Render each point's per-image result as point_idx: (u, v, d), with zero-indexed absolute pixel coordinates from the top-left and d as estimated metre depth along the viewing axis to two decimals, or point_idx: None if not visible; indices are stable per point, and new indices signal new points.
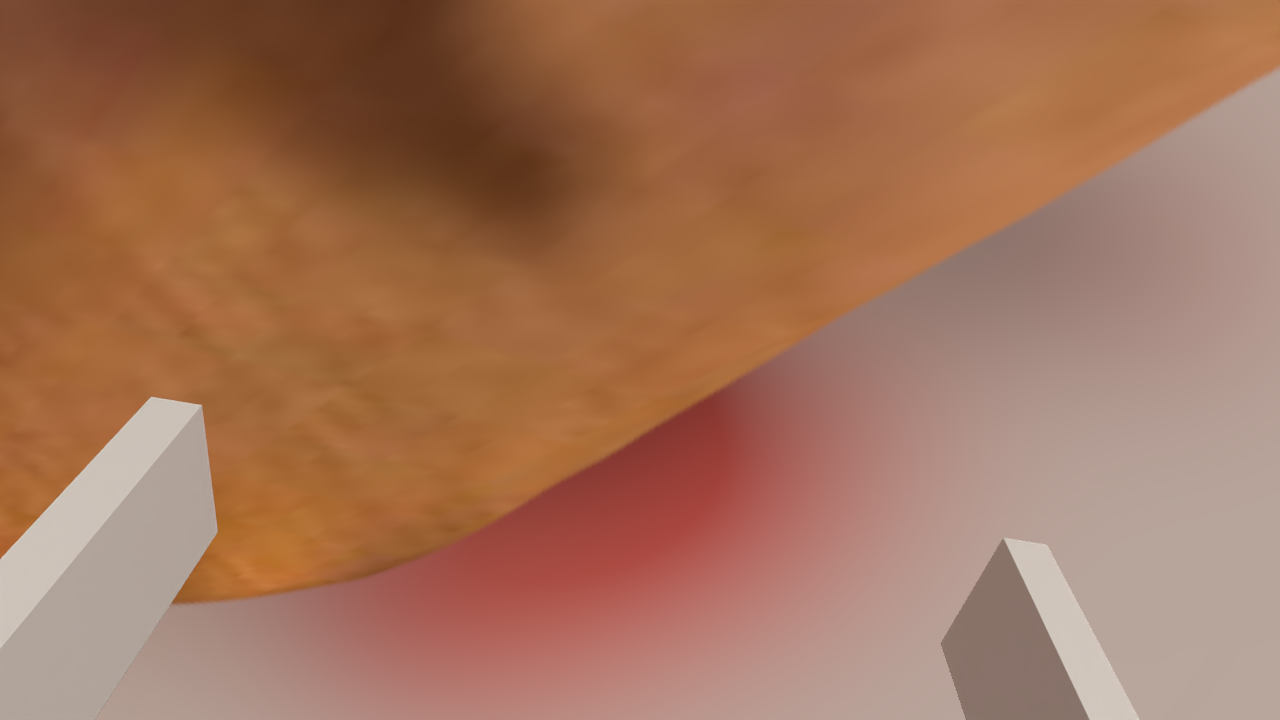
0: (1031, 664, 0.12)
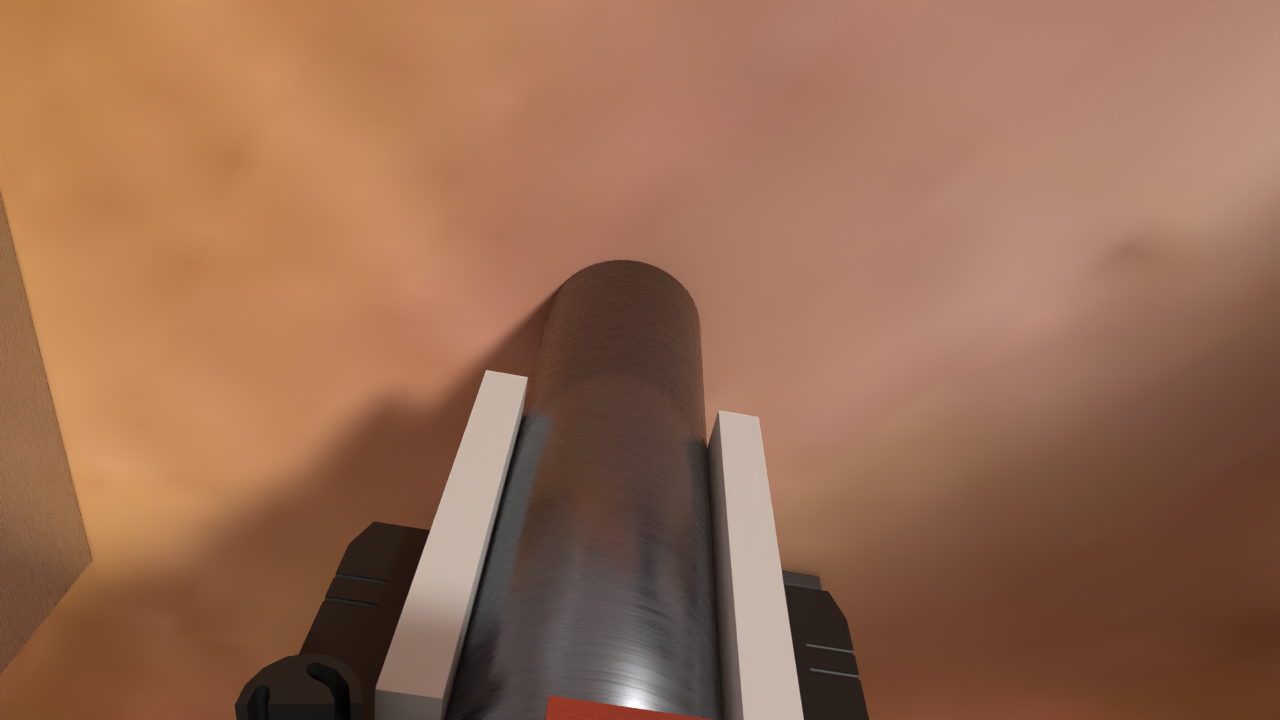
0: (715, 509, 0.14)
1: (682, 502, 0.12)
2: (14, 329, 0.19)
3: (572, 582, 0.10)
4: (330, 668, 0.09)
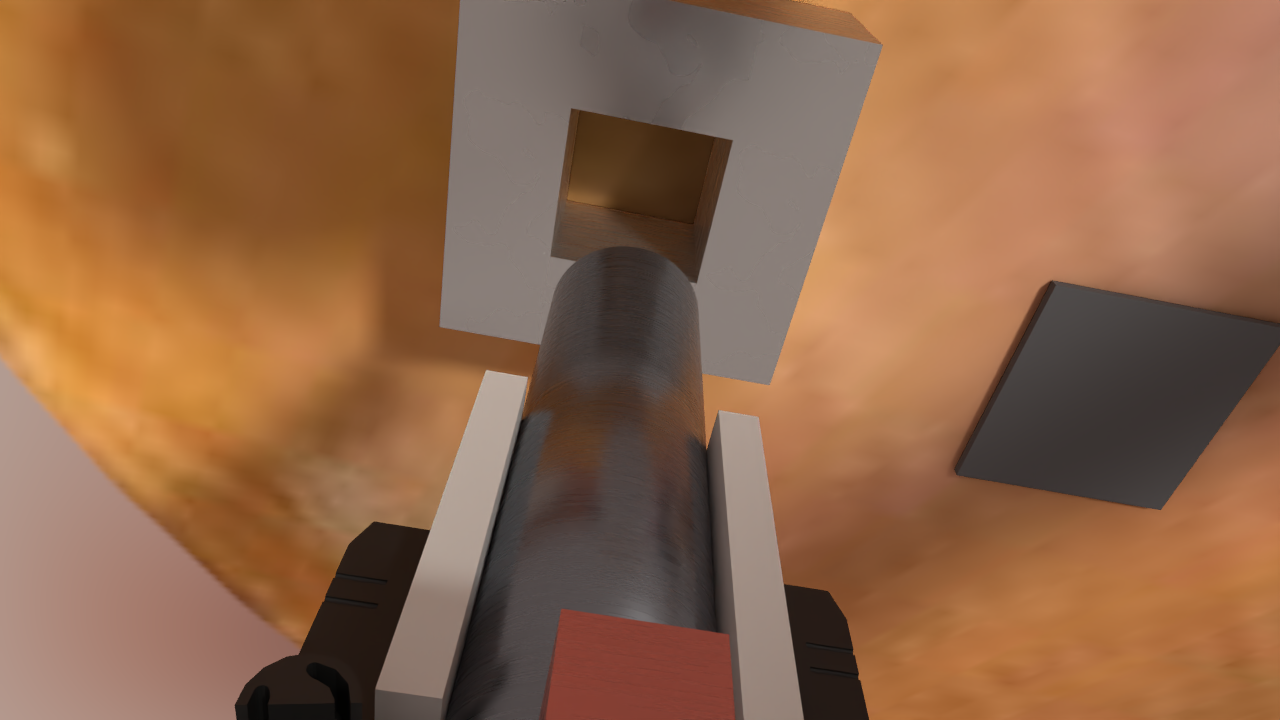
0: (715, 509, 0.14)
1: (681, 469, 0.13)
2: None
3: (578, 537, 0.11)
4: (330, 668, 0.09)
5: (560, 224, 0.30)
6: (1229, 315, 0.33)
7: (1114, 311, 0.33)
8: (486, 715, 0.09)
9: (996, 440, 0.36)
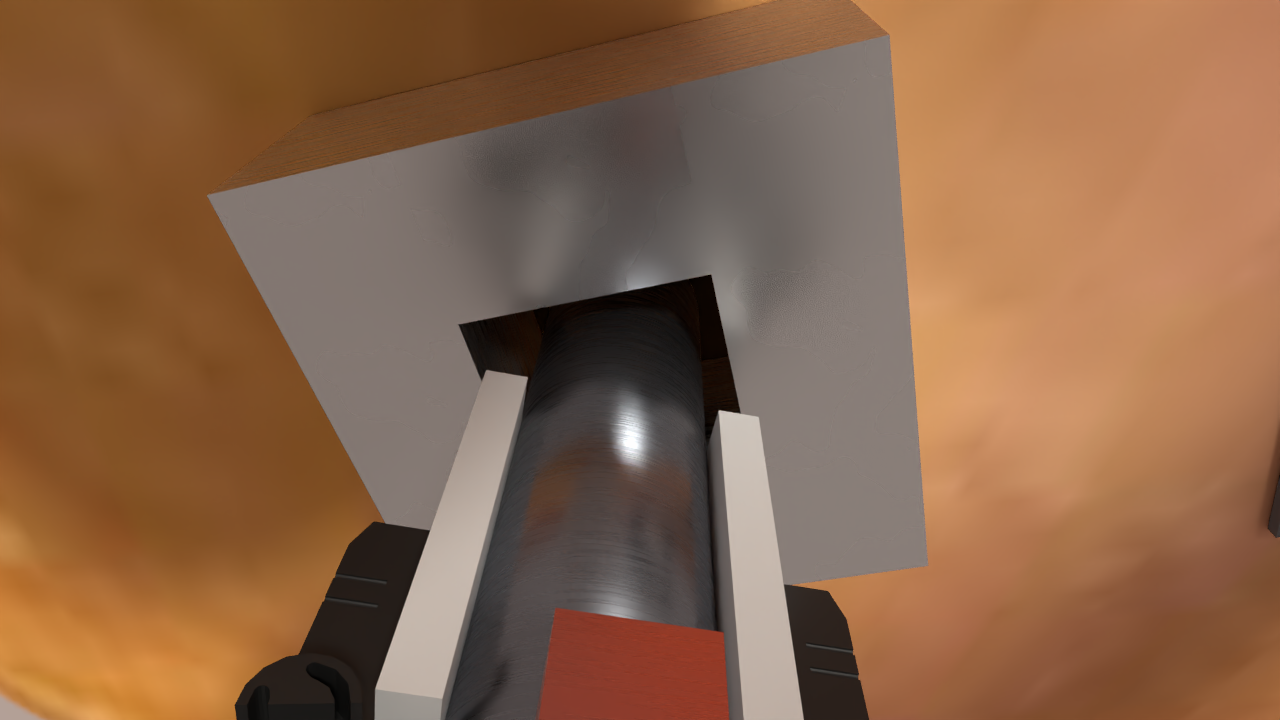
0: (715, 510, 0.14)
1: (680, 468, 0.13)
2: None
3: (576, 537, 0.11)
4: (330, 668, 0.09)
5: None
6: None
7: None
8: (485, 715, 0.09)
9: None
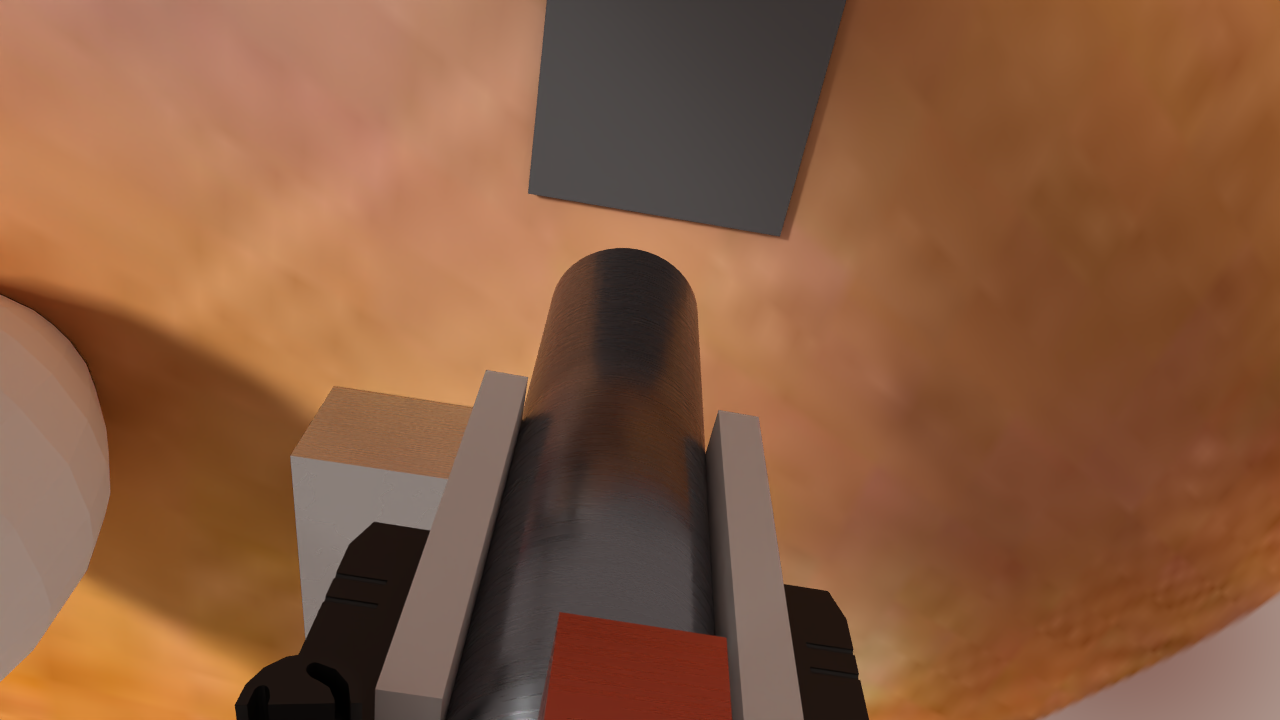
0: (715, 509, 0.14)
1: (679, 471, 0.13)
2: (407, 405, 0.37)
3: (577, 539, 0.11)
4: (330, 668, 0.09)
5: None
6: None
7: (551, 126, 0.30)
8: (485, 717, 0.09)
9: (729, 204, 0.32)
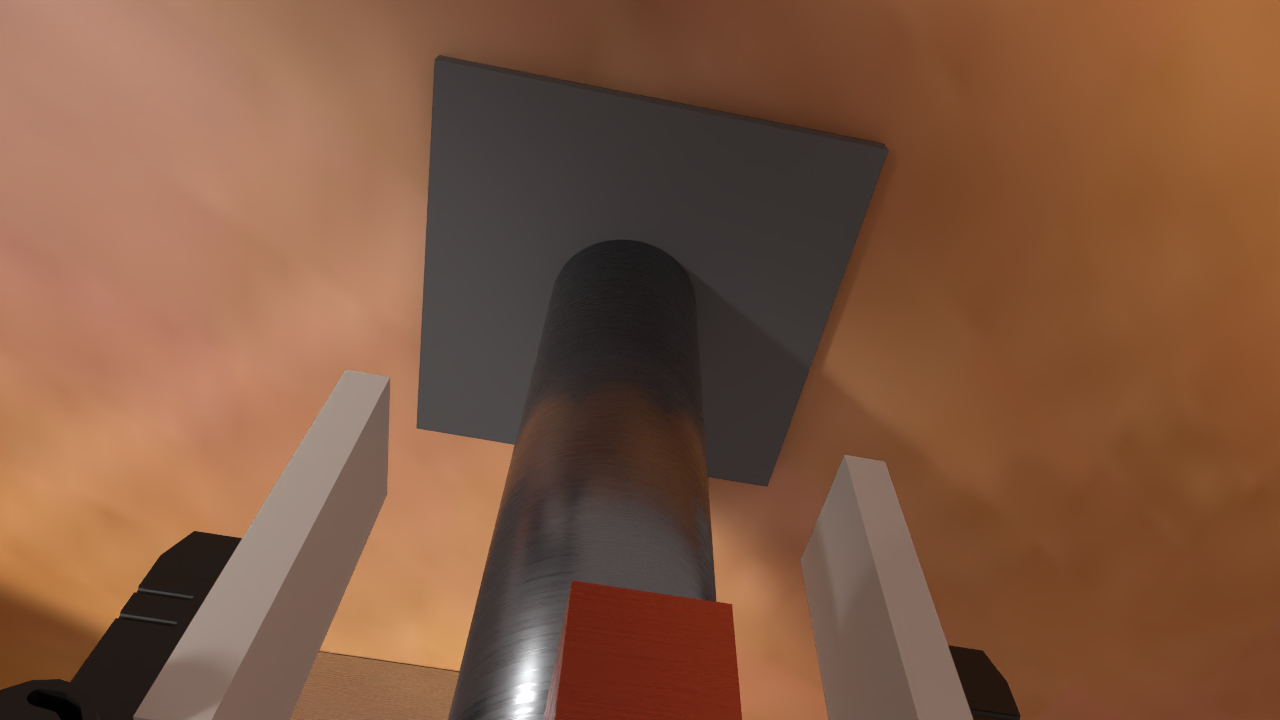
0: (853, 562, 0.13)
1: (681, 455, 0.13)
2: None
3: (582, 521, 0.11)
4: (58, 692, 0.08)
5: None
6: (432, 166, 0.19)
7: (445, 349, 0.21)
8: (495, 691, 0.10)
9: None
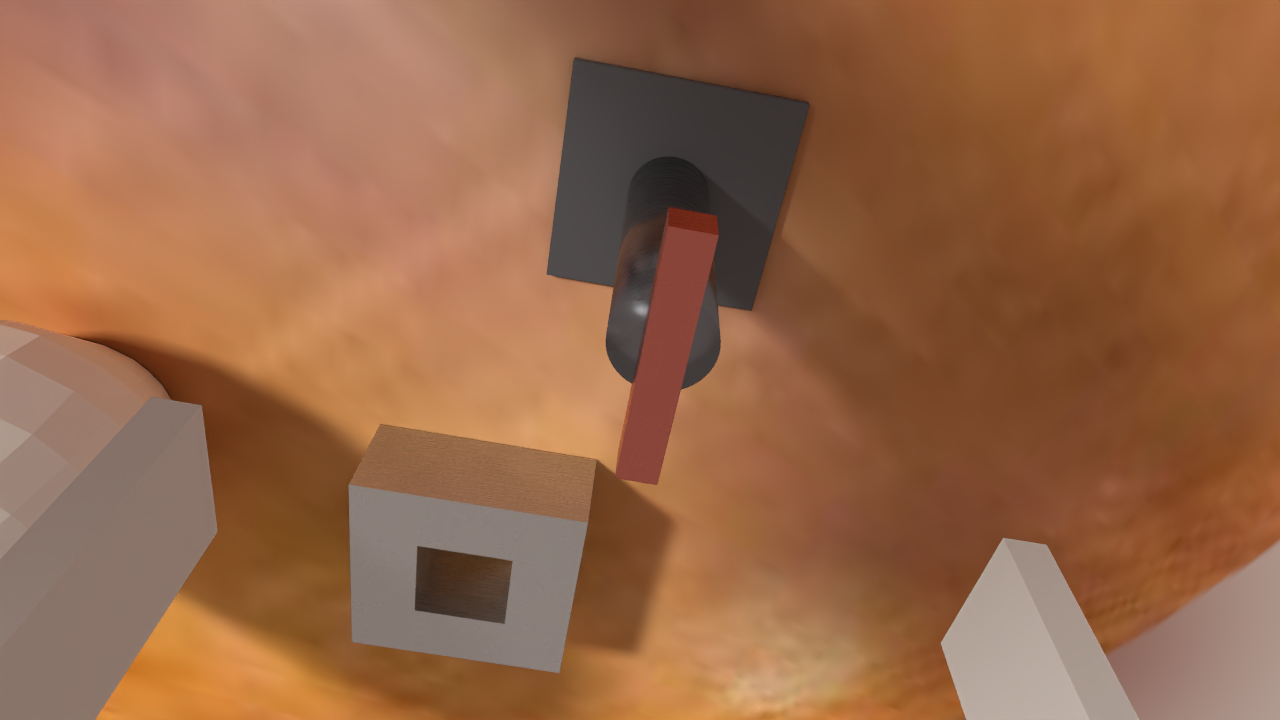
0: (1031, 664, 0.12)
1: None
2: (442, 441, 0.44)
3: (660, 245, 0.28)
4: None
5: None
6: None
7: (567, 223, 0.38)
8: (633, 285, 0.26)
9: None
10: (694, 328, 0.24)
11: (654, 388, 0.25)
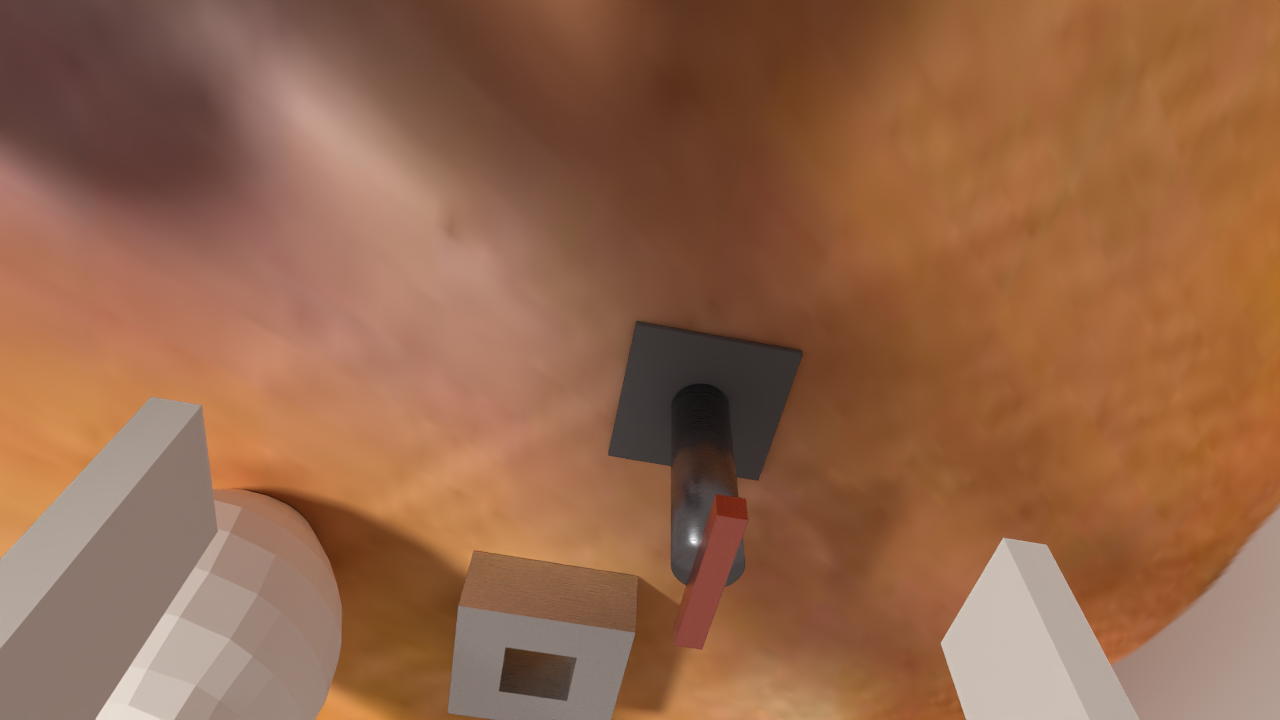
0: (1031, 664, 0.12)
1: (728, 469, 0.44)
2: (521, 564, 0.58)
3: (703, 487, 0.42)
4: None
5: (570, 669, 0.62)
6: (629, 357, 0.49)
7: (625, 423, 0.52)
8: (688, 526, 0.40)
9: None
10: (730, 566, 0.38)
11: (703, 597, 0.39)
